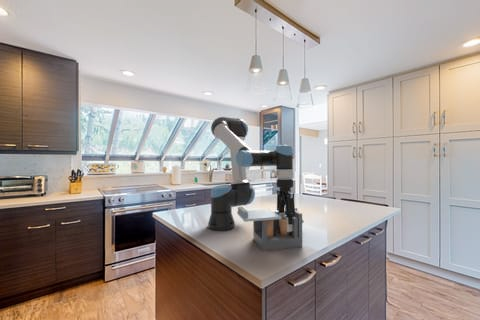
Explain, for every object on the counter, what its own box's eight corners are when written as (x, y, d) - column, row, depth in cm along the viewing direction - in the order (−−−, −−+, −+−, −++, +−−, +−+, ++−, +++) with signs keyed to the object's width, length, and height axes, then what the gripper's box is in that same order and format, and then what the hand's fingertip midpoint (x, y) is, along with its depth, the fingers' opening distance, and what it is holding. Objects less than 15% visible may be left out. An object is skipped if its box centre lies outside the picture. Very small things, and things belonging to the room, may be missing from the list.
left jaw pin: (262, 242, 100) (262, 216, 100) (271, 241, 101) (271, 215, 101) (265, 245, 96) (265, 218, 96) (275, 244, 97) (274, 218, 97)
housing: (253, 239, 104) (253, 208, 104) (287, 235, 109) (287, 206, 109) (263, 250, 91) (263, 216, 91) (302, 246, 95) (302, 213, 95)
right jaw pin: (278, 240, 102) (278, 215, 102) (287, 239, 103) (287, 214, 103) (282, 244, 98) (282, 217, 98) (291, 243, 99) (291, 216, 99)
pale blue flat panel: (237, 213, 103) (237, 206, 103) (269, 211, 106) (269, 204, 106) (244, 221, 89) (244, 213, 89) (281, 218, 93) (281, 210, 93)
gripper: (269, 177, 109) (270, 223, 108) (286, 180, 90) (287, 236, 89) (283, 177, 111) (284, 222, 110) (303, 179, 91) (304, 234, 91)
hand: (285, 228), depth 100 cm, fingers open, 7 cm apart
